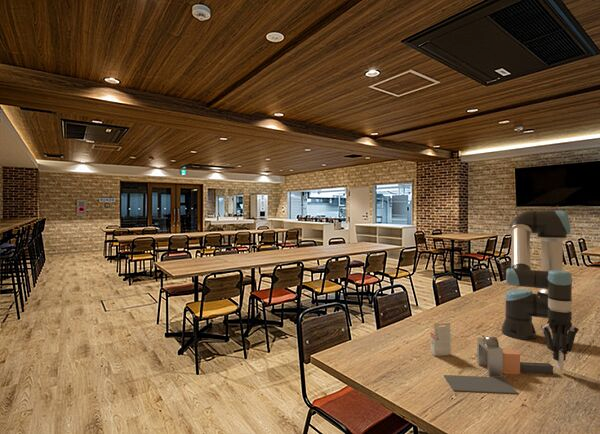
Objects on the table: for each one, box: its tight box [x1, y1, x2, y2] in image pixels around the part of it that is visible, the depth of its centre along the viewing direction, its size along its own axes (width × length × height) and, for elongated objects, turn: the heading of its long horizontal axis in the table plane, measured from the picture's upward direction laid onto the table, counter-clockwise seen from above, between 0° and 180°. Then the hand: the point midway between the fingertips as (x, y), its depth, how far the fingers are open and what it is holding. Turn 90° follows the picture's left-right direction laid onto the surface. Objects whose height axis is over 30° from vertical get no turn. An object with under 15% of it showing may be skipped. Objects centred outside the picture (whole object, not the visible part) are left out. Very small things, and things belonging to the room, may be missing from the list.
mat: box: [443, 374, 519, 395], centre depth 125 cm, size 22×11×1 cm, turn 84°
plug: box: [502, 348, 554, 375], centre depth 134 cm, size 19×5×8 cm, turn 84°
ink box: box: [430, 322, 452, 357], centre depth 151 cm, size 4×8×15 cm, turn 96°
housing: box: [476, 336, 504, 378], centre depth 136 cm, size 5×11×14 cm, turn 174°
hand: (559, 368), depth 133 cm, fingers closed
